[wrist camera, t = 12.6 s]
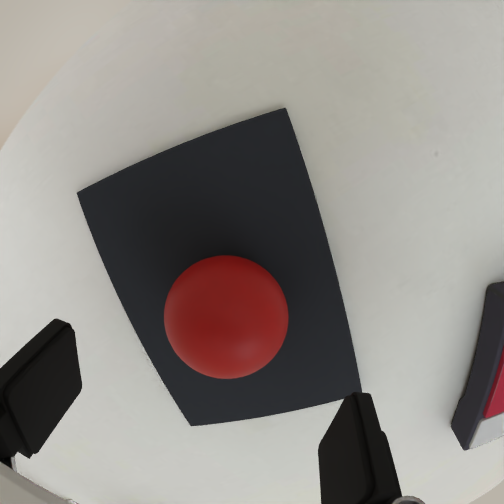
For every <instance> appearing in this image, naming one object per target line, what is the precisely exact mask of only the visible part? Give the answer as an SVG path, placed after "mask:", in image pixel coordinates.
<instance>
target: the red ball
mask: <svg viewBox="0 0 504 504" xmlns="http://www.w3.org/2000/svg"><path fill="white" fill-rule="evenodd" d="M288 318H289V316H288V306H287V302H286V299H285V296H284V294H283V291H282V289H281V287H280V286H279V284H278V282H277V281H276V280H275V279H274V277H273V276H272V275H271V274H270V273H269V272H268V271H267V270H266V269H264V268H263V267H262V266H260V265H258V264H257V263H255V262H253V261H251V260H248V259H246V258H242V257H238V256H231V255H221V256H214V257H210V258H206V259H203V260H201V261H199V262H197V263H195V264H193V265H192V266H190V267H189V268H187V269H186V270H185V271H184V272H183V273H182V274H181V275H180V276H179V277H178V278H177V280H176V281H175V282H174V284H173V285H172V287H171V289H170V291H169V293H168V296H167V299H166V303H165V309H164V325H165V330H166V334H167V337H168V340H169V342H170V344H171V346H172V348H173V349H174V351H175V353H176V354H177V355H178V356H179V357H180V359H181V360H182V361H184V362H185V363H186V364H187V365H188V366H189V367H191V368H192V369H194V370H195V371H197V372H199V373H201V374H204V375H206V376H210V377H214V378H221V379H232V378H239V377H244V376H247V375H250V374H252V373H254V372H256V371H258V370H259V369H261V368H263V367H264V366H265V365H266V364H267V363H269V362H270V361H271V360H272V359H273V358H274V356H275V355H276V354H277V352H278V351H279V349H280V348H281V346H282V344H283V341H284V339H285V336H286V333H287V329H288Z"/></svg>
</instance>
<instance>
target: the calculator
mask: <svg viewBox="0 0 504 504" xmlns="http://www.w3.org/2000/svg"><path fill="white" fill-rule="evenodd" d="M451 428H452V430H453V432H454V433H455V435H456V437H457V439H458V441H459V443H460V445H461V447H462V448H463V450H468V449H473V448H476V447H478V446H481V445H483V444H486V443H488V442H491V441H493V440H496V439H498V438H500V437H502V436H504V282H500V283H495V284H491V285H490V286H489V287H488V289H487V294H486V301H485V308H484V314H483V320H482V326H481V331H480V336H479V341H478V346H477V350H476V355H475V359H474V363H473V367H472V371H471V375H470V379H469V382H468V386H467V389H466V393H465V396H464V397H463V398H462V399H460V400H459V403H458V406H457V409H456V413H455V416H454V419H453V421H452V424H451Z"/></svg>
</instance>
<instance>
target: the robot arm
mask: <svg viewBox="0 0 504 504" xmlns="http://www.w3.org/2000/svg"><path fill="white" fill-rule="evenodd" d="M81 389H82V380H81V374H80V368H79V361H78V354H77V347H76V338H75V331H74V330H73V329H72V327H71V325H70V324H69V323H67V322H64V321H62V320H59V319H54V320H53V321H51V322H50V323H49V324H48V325H47V326H46V327H45V328H43V329H42V330H41V331H40V332H39V333H38V334H37V335H36V336H35V337H33V338H32V339H31V340H30V341H29V342H28V343H27V344H26V345H25V346H24V347H23V348H21V349H20V350H19V351H18V352H17V353H16V354H15V355H14V356H13V357H12V358H11V359H10V360H9V361H8V362H7V363H6V364H4V365H3V366H2V367H1V368H0V504H73V503H71V502H69V501H67V500H65V499H63V498H61V497H59V496H57V495H55V494H53V493H51V492H49V491H48V490H46V489H44V488H42V487H40V486H39V485H37V484H35V483H34V482H32V481H30V480H29V479H27V478H25V477H24V476H22V475H20V474H19V473H17V468H16V462H15V454H16V453H17V452H19V453H21V454H22V455H24V456H26V457H27V458H29V459H30V457H31V456H32V454H33V453H34V454H36V453H38V452H39V450H40V449H41V447H42V446H43V444H44V443H45V441H46V440H47V439H48V437H49V436H50V434H51V433H52V431H53V430H54V428H55V427H56V426H57V424H58V423H59V421H60V420H61V418H62V417H63V416H64V414H65V413H66V411H67V410H68V409H69V407H70V406H71V404H72V403H73V402H74V400H75V399H76V397H77V396H78V395H79V393H80V392H81ZM318 457H319V472H320V488H321V504H425V503H424V502H423V501H422V500H420V499H419V498H416V497H414V496H403V497H402V494H401V489H400V485H399V481H398V477H397V473H396V469H395V466H394V462H393V458H392V454H391V451H390V447H389V443H388V440H387V437H386V434H385V433H384V432H383V431H381V428H380V424H379V421H378V417H377V414H376V410H375V407H374V403H373V400H372V397H371V395H370V394H369V393H361V392H353V393H352V394H351V395H350V396H349V395H347V396H346V397H345V398H344V400H343V402H342V404H341V406H340V408H339V410H338V412H337V414H336V415H335V417H334V419H333V421H332V423H331V425H330V426H329V428H328V430H327V432H326V433H325V435H324V437H323V439H322V440H321V442H320V444H319V448H318Z"/></svg>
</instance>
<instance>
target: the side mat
mask: <svg viewBox="0 0 504 504" xmlns="http://www.w3.org/2000/svg"><path fill="white" fill-rule="evenodd" d="M77 195H78V198H79V201H80V204H81V207H82V210H83V212H84V215H85V218H86V221H87V223H88V226H89V229H90V231H91V234H92V236H93V239H94V241H95V244H96V246H97V249H98V251H99V254H100V256H101V258H102V261H103V263H104V266H105V268H106V270H107V273H108V275H109V277H110V279H111V282H112V284H113V286H114V288H115V290H116V293H117V295H118V297H119V299H120V301H121V303H122V305H123V307H124V309H125V311H126V314H127V316H128V318H129V320H130V322H131V324H132V326H133V328H134V329H135V331H136V333H137V335H138V337H139V339H140V341H141V343H142V345H143V347H144V349H145V350H146V352H147V354H148V356H149V358H150V359H151V361H152V363H153V365H154V367H155V368H156V370H157V372H158V374H159V375H160V377H161V379H162V381H163V382H164V384H165V386H166V387H167V389H168V391H169V392H170V394H171V396H172V397H173V399H174V400H175V402H176V404H177V405H178V407H179V408H180V410H181V412H182V413H183V415H184V416H185V418H186V419H187V421H188V422H189V424H190V425H191V426H198V425H208V424H216V423H224V422H232V421H239V420H246V419H252V418H258V417H264V416H269V415H275V414H280V413H285V412H290V411H295V410H299V409H304V408H308V407H313V406H317V405H321V404H325V403H329V402H333V401H337V400H341V399H344V398H345V397H346V396H347V395H349V396H350V395H351V394H352V393H353V392H361V393H362V389H361V384H360V379H359V373H358V368H357V363H356V358H355V353H354V349H353V344H352V339H351V334H350V330H349V325H348V321H347V316H346V312H345V308H344V303H343V299H342V295H341V291H340V287H339V283H338V279H337V275H336V271H335V267H334V263H333V259H332V255H331V252H330V248H329V244H328V241H327V237H326V233H325V230H324V226H323V223H322V219H321V216H320V212H319V209H318V205H317V202H316V199H315V195H314V192H313V189H312V185H311V182H310V179H309V176H308V173H307V169H306V166H305V163H304V160H303V157H302V154H301V151H300V148H299V145H298V142H297V139H296V136H295V133H294V130H293V127H292V124H291V121H290V118H289V116H288V113H287V110H286V108H283V109H279V110H276V111H273V112H269V113H266V114H263V115H260V116H257V117H254V118H251V119H248V120H245V121H242V122H239V123H236V124H233V125H230V126H227V127H225V128H222V129H219V130H216V131H214V132H211V133H208V134H206V135H203V136H200V137H198V138H195V139H193V140H190V141H188V142H185V143H183V144H180V145H178V146H175V147H173V148H170V149H168V150H166V151H163V152H161V153H159V154H156V155H154V156H152V157H149V158H147V159H145V160H143V161H140V162H138V163H136V164H134V165H132V166H130V167H127V168H125V169H123V170H121V171H119V172H117V173H115V174H113V175H111V176H109V177H107V178H105V179H103V180H101V181H99V182H97V183H95V184H93V185H91V186H89V187H87V188H85V189H83V190H81V191H79V192H77ZM221 255H231V256H238V257H242V258H246V259H248V260H251V261H253V262H255V263H257V264H258V265H260V266H262V267H263V268H264V269H266V270H267V271H268V272H269V273H270V274H271V275H272V276H273V277H274V279H275V280H276V281H277V282H278V284H279V286H280V287H281V289H282V291H283V294H284V296H285V299H286V302H287V306H288V316H289V318H288V329H287V333H286V336H285V339H284V341H283V344H282V346H281V348H280V349H279V351H278V352H277V354H276V355H275V356H274V358H273V359H272V360H271V361H270V362H269V363H267V364H266V365H265V366H264V367H263V368H261V369H259V370H258V371H256V372H254V373H252V374H250V375H247V376H244V377H239V378H232V379H221V378H214V377H210V376H206V375H204V374H201V373H199V372H197V371H195V370H194V369H192V368H191V367H189V366H188V365H187V364H186V363H185V362H184V361H182V360H181V359H180V357H179V356H178V355H177V354H176V353H175V351H174V349H173V348H172V346H171V344H170V342H169V340H168V337H167V334H166V330H165V325H164V309H165V303H166V299H167V296H168V293H169V291H170V289H171V287H172V285H173V284H174V282H175V281H176V280H177V278H178V277H179V276H180V275H181V274H182V273H183V272H184V271H185V270H186V269H187V268H189V267H190V266H192V265H193V264H195V263H197V262H199V261H201V260H203V259H206V258H210V257H214V256H221Z"/></svg>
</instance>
